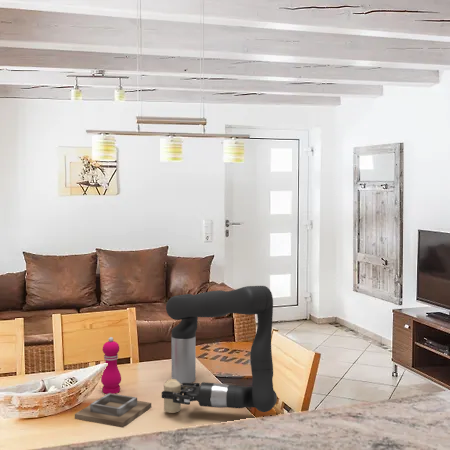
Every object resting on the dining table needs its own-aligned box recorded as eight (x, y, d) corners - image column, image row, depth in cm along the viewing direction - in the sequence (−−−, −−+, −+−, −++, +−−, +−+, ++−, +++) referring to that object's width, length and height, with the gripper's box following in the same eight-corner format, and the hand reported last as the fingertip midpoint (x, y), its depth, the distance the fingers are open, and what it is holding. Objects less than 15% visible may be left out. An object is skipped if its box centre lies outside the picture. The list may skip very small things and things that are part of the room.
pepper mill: (97, 393, 211) (96, 338, 210) (108, 386, 218) (108, 333, 217) (114, 395, 209) (113, 340, 207) (125, 389, 215) (124, 335, 214)
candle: (178, 413, 190) (177, 383, 189) (161, 412, 191) (161, 382, 190) (182, 407, 195) (182, 377, 195) (166, 406, 196) (166, 376, 196)
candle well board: (106, 399, 205) (105, 388, 205) (151, 407, 198) (151, 395, 198) (74, 418, 188) (74, 406, 188) (123, 427, 182) (123, 414, 181)
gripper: (219, 376, 197) (171, 373, 200) (209, 391, 183) (157, 387, 186) (219, 398, 197) (171, 394, 201) (209, 415, 183) (157, 410, 186)
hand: (165, 391), depth 193 cm, fingers closed on candle, 5 cm apart
